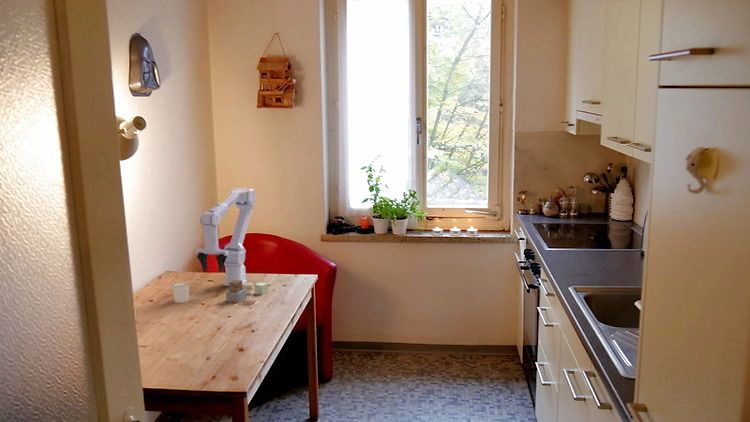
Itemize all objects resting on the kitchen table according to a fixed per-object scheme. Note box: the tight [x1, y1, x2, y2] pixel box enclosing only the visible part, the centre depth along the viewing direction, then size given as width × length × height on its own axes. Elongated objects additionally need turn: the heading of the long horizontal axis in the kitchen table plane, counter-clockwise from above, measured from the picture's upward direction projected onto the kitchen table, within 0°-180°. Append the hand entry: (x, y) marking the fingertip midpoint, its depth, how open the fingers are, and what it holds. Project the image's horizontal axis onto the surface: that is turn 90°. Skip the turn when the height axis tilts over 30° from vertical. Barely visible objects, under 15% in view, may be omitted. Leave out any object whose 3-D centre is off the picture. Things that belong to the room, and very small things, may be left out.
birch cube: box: [243, 281, 255, 295], centre depth 288 cm, size 4×4×4 cm
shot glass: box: [171, 281, 190, 304], centre depth 278 cm, size 7×7×7 cm
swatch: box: [234, 299, 260, 308], centre depth 273 cm, size 7×7×1 cm
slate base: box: [225, 289, 248, 303], centre depth 279 cm, size 6×6×4 cm
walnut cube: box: [228, 280, 243, 292], centre depth 278 cm, size 4×4×4 cm
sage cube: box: [254, 281, 269, 296], centre depth 287 cm, size 4×4×4 cm
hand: (213, 270), depth 287 cm, fingers open, 7 cm apart
